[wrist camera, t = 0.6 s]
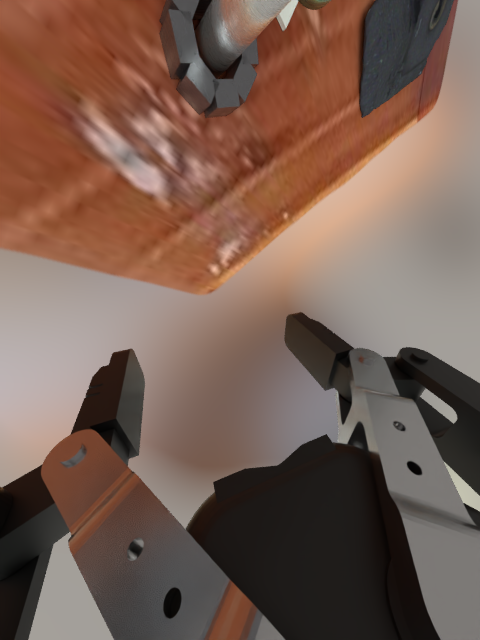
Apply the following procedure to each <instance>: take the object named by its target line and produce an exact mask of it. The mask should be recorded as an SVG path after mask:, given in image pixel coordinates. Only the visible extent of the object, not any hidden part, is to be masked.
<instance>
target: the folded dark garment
mask: <svg viewBox="0 0 480 640" xmlns="http://www.w3.org/2000/svg"><path fill="white" fill-rule="evenodd" d="M453 1H454V0H376V1H375V2H374V4H373V5H372V7H371V8H370V10H369V11H368V13H367V16H366V18H365V27H364V45H363V50H364V52H363V71H362V77H361V91H360V107H361V108H360V109H361V112H362V118H363V117H365V116H366V115H368V114H370V112H371V111H372V110H373V109H376V108H377V107H379V106H380V105H381V104H383V103H385V102H386V101H388V100H389V99H390V98H392V96H393V95H395V94H397V93H398V92H399V91H400V90H401V89H403V88H404V87H405V86H406V85H408V84H409V83H410V82H412V81H413V80H414V79H416V78H417V77H418V76H419V75H421V74H422V71H423V69H424V67H425V65H426V63H427V58H428V56H429V54H430V52H431V50H432V48H433V46H434V43H435V42H436V40H437V39H438V38H439V36H440V34H441V32H442V30H443V28H444V26H445V25H446V22H447V20H448V17H449V13H450V11H451V7H452V4H453Z"/></svg>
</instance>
